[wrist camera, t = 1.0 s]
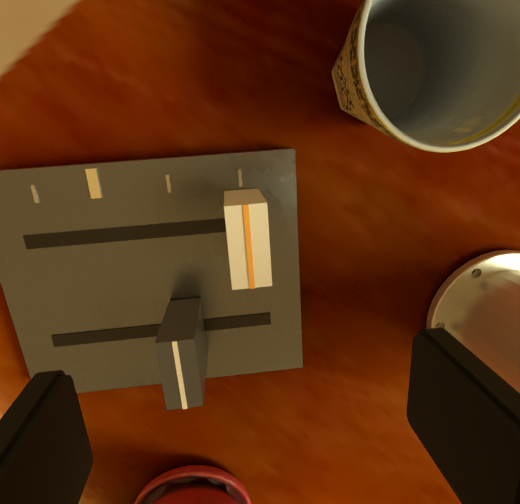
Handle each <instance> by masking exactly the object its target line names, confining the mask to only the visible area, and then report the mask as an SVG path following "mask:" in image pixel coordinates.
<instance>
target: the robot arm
mask: <svg viewBox="0 0 520 504" xmlns="http://www.w3.org/2000/svg"><path fill="white" fill-rule="evenodd" d="M407 418H408V421H409V424H410V425H411V427H412V429H413V430H414V432H415V433H416V435H417V436H418V438H419V439H420V441H421V442H422V444H423V445H424V447H425V448H426V450H427V451H428V453H429V454H430V456H431V458H432V459H433V461H434V462H435V464H436V465H437V467H438V468H439V470H440V471H441V473H442V474H443V476H444V477H445V479H446V480H447V482H448V483H449V485H450V486H451V488H452V489H453V491H454V492H455V494H456V495H457V497H458V498H459V500H460V501H461V503H462V504H520V251H518V250H499V251H493V252H490V253H486V254H483V255H480V256H478V257H476V258H474V259H472V260H470V261H468V262H467V263H465V264H464V265H462V266H461V267H459V268H458V269H457V270H455V271H454V272H453V273H452V274H451V275H450V276H449V277H448V278H447V279H446V280H445V282H444V283H443V284H442V285H441V287H440V288H439V289H438V291H437V293H436V294H435V296H434V298H433V300H432V302H431V305H430V308H429V311H428V314H427V322H426V329H422V330H420V331H419V333H418V335H416V336H414V338H413V346H412V358H411V369H410V380H409V391H408V403H407ZM92 462H93V455H92V450H91V446H90V443H89V439H88V435H87V431H86V428H85V424H84V420H83V416H82V412H81V409H80V405H79V401H78V397H77V394H76V390H75V386H74V382H73V379H72V377H71V375H65V373H64V371H62V370H55V371H46V372H39V373H36V374H35V375H34V376H33V378H32V379H31V380H30V381H29V383H28V384H27V385H26V387H25V388H24V389H23V391H22V392H21V393H20V395H19V396H18V397H17V398H16V400H15V401H14V402H13V404H12V405H11V406H10V408H9V409H8V410H7V412H6V413H5V414H4V415H3V417H2V418H1V419H0V504H78V502H79V500H80V497H81V495H82V492H83V489H84V487H85V484H86V481H87V479H88V476H89V473H90V471H91V468H92Z"/></svg>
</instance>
